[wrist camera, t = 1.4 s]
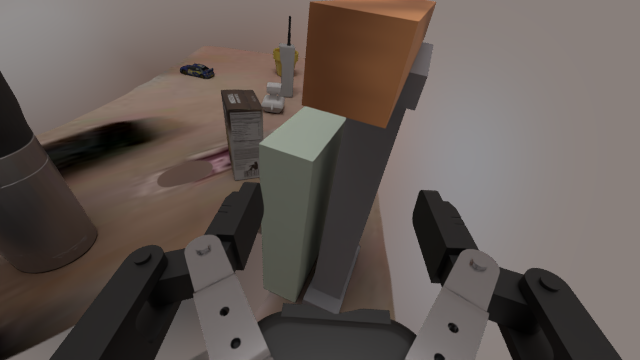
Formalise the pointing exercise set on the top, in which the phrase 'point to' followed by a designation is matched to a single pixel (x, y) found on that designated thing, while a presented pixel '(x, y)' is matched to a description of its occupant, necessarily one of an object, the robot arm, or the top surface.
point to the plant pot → (278, 62)
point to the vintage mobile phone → (287, 66)
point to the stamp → (273, 98)
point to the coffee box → (243, 131)
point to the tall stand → (358, 191)
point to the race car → (197, 71)
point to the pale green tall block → (296, 196)
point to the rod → (362, 55)
